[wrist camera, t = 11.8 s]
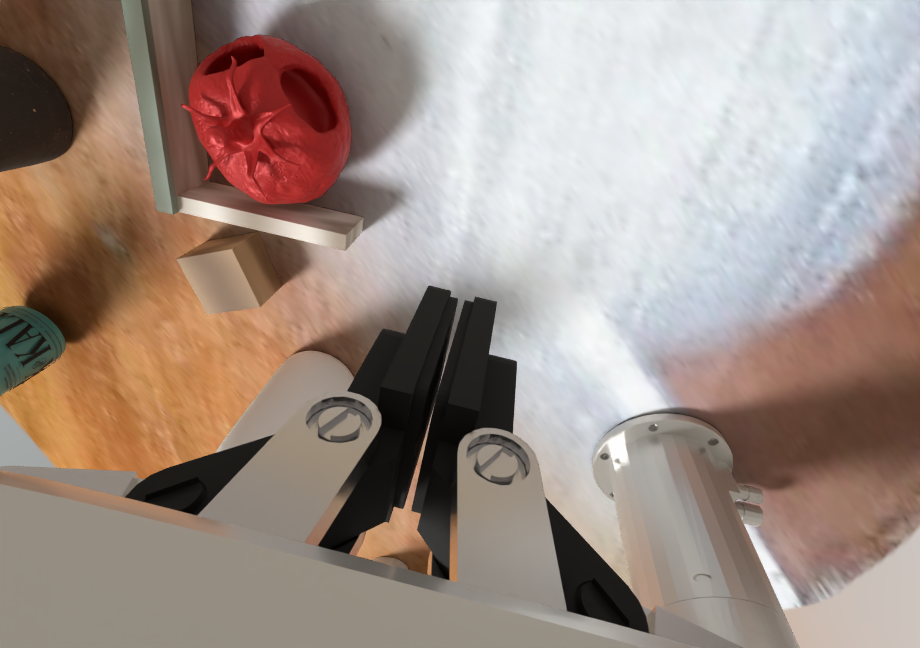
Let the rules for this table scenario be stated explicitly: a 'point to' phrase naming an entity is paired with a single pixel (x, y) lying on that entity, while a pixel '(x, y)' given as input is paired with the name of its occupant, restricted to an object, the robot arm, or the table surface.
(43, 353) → the beverage bottle
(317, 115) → the pomegranate
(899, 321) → the table surface
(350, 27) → the table surface
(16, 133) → the container
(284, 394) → the milk bottle
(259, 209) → the display stand
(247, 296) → the teak block
